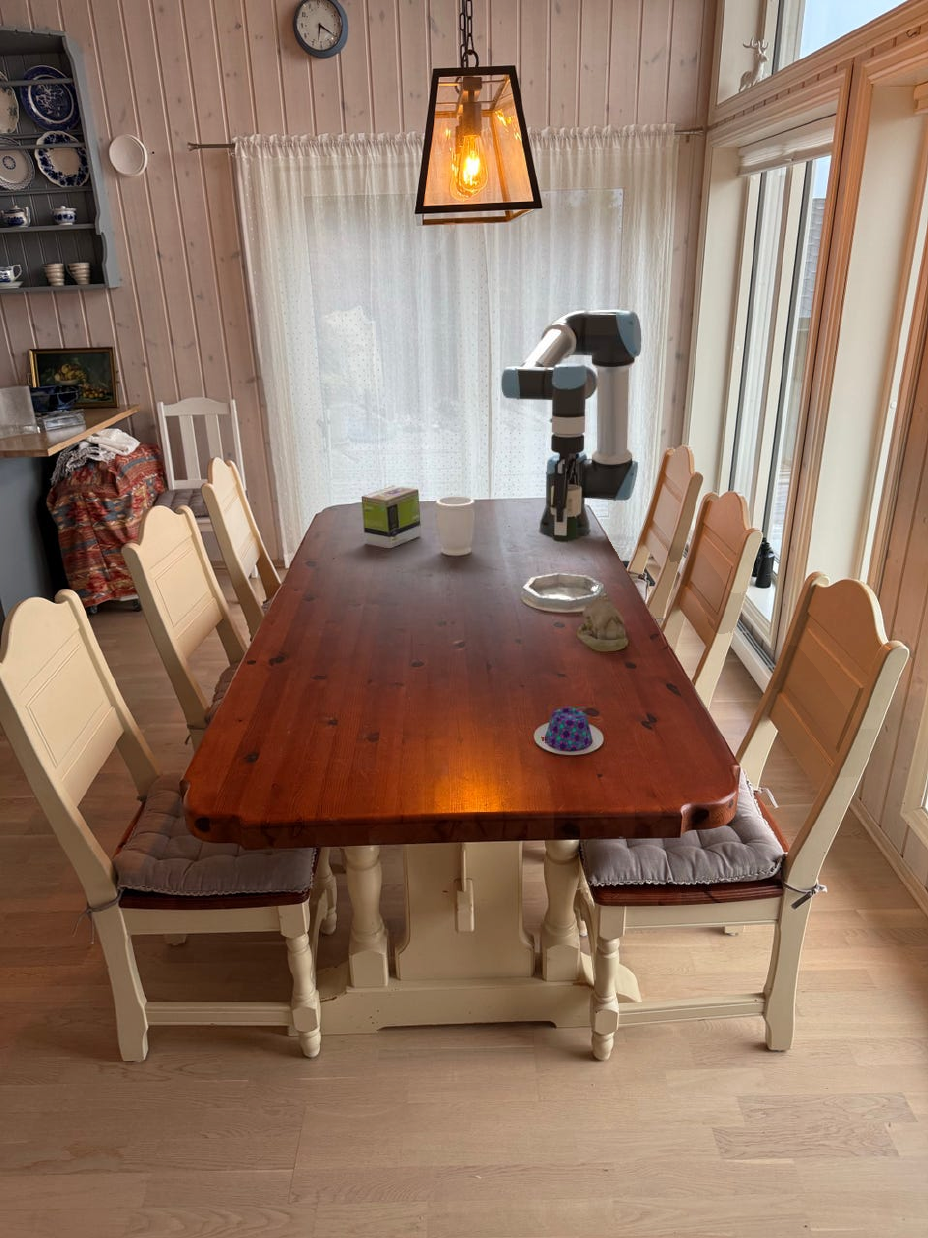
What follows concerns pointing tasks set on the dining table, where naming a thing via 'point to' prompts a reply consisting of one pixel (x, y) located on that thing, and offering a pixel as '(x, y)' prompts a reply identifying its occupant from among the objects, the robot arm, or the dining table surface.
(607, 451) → the robot arm
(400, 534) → the tea box
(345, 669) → the dining table surface
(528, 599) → the octagonal bowl
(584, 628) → the ceramic model
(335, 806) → the dining table surface
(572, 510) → the character mug
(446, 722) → the dining table surface
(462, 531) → the jar
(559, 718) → the pudding
